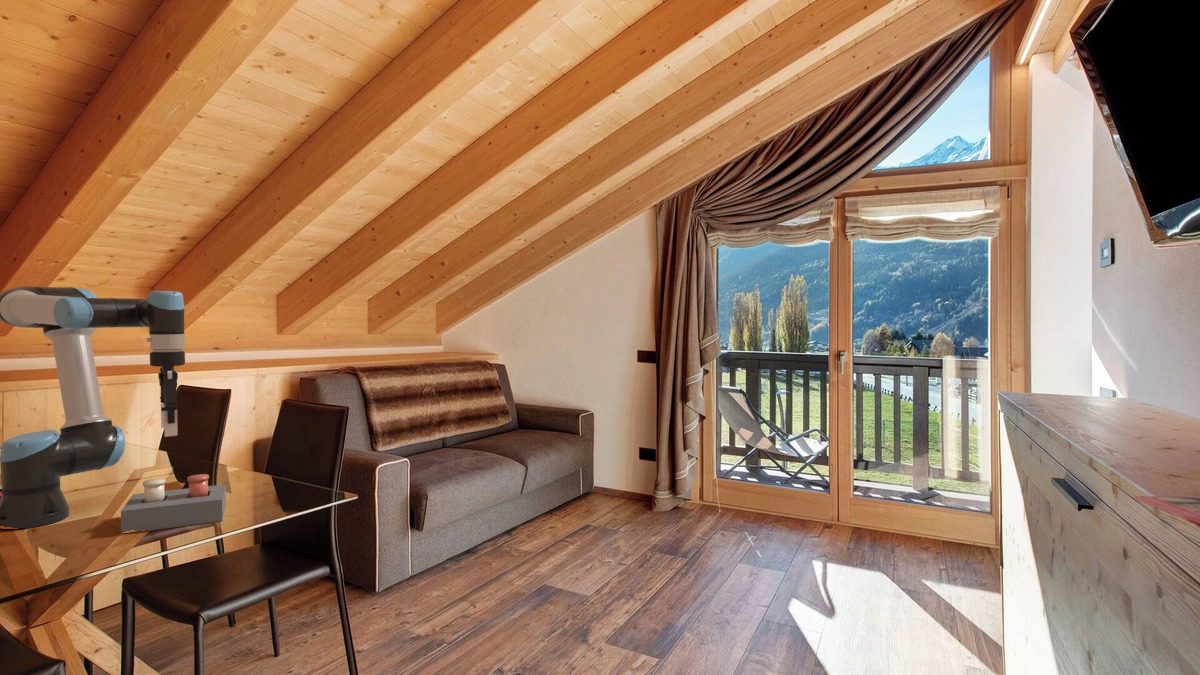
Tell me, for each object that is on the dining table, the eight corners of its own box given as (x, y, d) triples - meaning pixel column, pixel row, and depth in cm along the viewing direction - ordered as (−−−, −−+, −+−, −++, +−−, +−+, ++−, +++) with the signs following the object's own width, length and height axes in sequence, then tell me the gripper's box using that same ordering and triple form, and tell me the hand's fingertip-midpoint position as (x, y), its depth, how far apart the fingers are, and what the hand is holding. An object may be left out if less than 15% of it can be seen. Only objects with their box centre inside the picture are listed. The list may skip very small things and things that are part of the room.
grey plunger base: (133, 515, 172) (132, 494, 171) (225, 504, 182) (225, 484, 182) (121, 534, 158) (120, 511, 157) (222, 521, 168) (222, 499, 168)
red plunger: (188, 499, 173) (188, 475, 173) (210, 497, 175) (209, 473, 175) (186, 504, 169) (186, 479, 168) (208, 502, 171) (208, 477, 171)
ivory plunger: (145, 504, 168) (144, 479, 168) (167, 502, 171) (166, 477, 170) (141, 509, 164) (141, 484, 164) (164, 507, 166) (164, 482, 166)
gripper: (147, 348, 168) (149, 425, 169) (151, 354, 149) (153, 441, 150) (180, 347, 173) (182, 423, 174) (189, 352, 153) (191, 437, 154)
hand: (169, 431), depth 162 cm, fingers open, 13 cm apart
